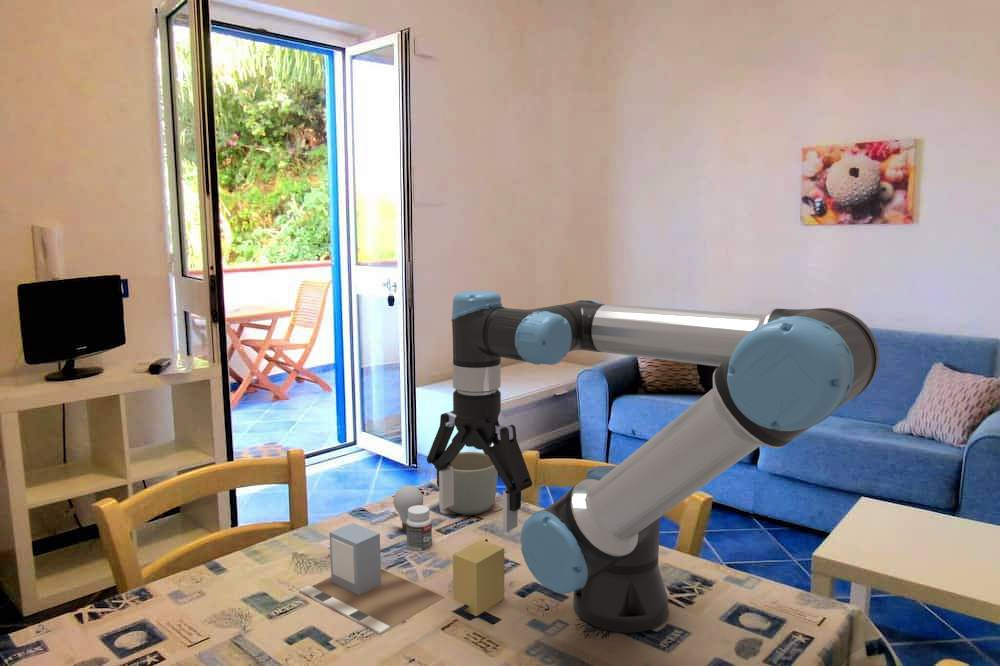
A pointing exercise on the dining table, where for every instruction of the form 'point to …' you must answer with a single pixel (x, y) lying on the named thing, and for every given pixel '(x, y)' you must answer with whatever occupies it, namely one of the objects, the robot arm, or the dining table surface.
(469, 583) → the tea box
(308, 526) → the dining table surface
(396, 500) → the light bulb
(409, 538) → the pill bottle
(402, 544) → the dining table surface
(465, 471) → the planter
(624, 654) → the dining table surface
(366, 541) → the slate box
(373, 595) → the shelf board
